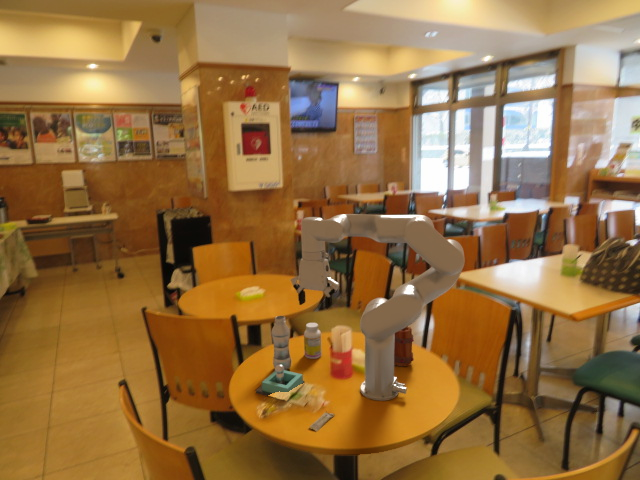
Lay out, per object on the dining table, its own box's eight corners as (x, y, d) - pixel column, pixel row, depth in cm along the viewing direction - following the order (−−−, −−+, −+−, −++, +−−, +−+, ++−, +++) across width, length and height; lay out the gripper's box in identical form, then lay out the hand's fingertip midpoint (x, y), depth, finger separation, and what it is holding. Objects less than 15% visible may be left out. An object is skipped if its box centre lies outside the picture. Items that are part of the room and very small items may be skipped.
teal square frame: (303, 382, 150) (302, 374, 149) (288, 397, 141) (287, 388, 140) (278, 376, 154) (277, 368, 153) (262, 390, 145) (261, 382, 145)
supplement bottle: (306, 351, 175) (305, 321, 173) (322, 352, 174) (321, 321, 172) (303, 359, 169) (302, 327, 166) (320, 359, 168) (319, 328, 165)
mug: (418, 363, 163) (419, 325, 160) (407, 371, 157) (408, 332, 154) (385, 352, 173) (385, 316, 170) (373, 359, 167) (373, 322, 164)
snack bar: (317, 431, 124) (308, 425, 126) (315, 435, 125) (307, 429, 126) (335, 414, 132) (327, 408, 134) (333, 417, 133) (326, 412, 134)
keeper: (304, 383, 151) (303, 360, 149) (286, 401, 140) (285, 376, 139) (275, 376, 156) (273, 354, 154) (255, 393, 146) (254, 369, 144)
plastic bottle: (290, 372, 158) (288, 320, 154) (272, 373, 159) (269, 321, 155) (292, 364, 165) (290, 314, 161) (274, 364, 165) (271, 314, 161)
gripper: (342, 254, 141) (343, 305, 145) (296, 251, 149) (297, 298, 152) (333, 260, 135) (334, 312, 138) (284, 255, 142) (287, 305, 146)
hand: (315, 305), depth 145 cm, fingers open, 9 cm apart
